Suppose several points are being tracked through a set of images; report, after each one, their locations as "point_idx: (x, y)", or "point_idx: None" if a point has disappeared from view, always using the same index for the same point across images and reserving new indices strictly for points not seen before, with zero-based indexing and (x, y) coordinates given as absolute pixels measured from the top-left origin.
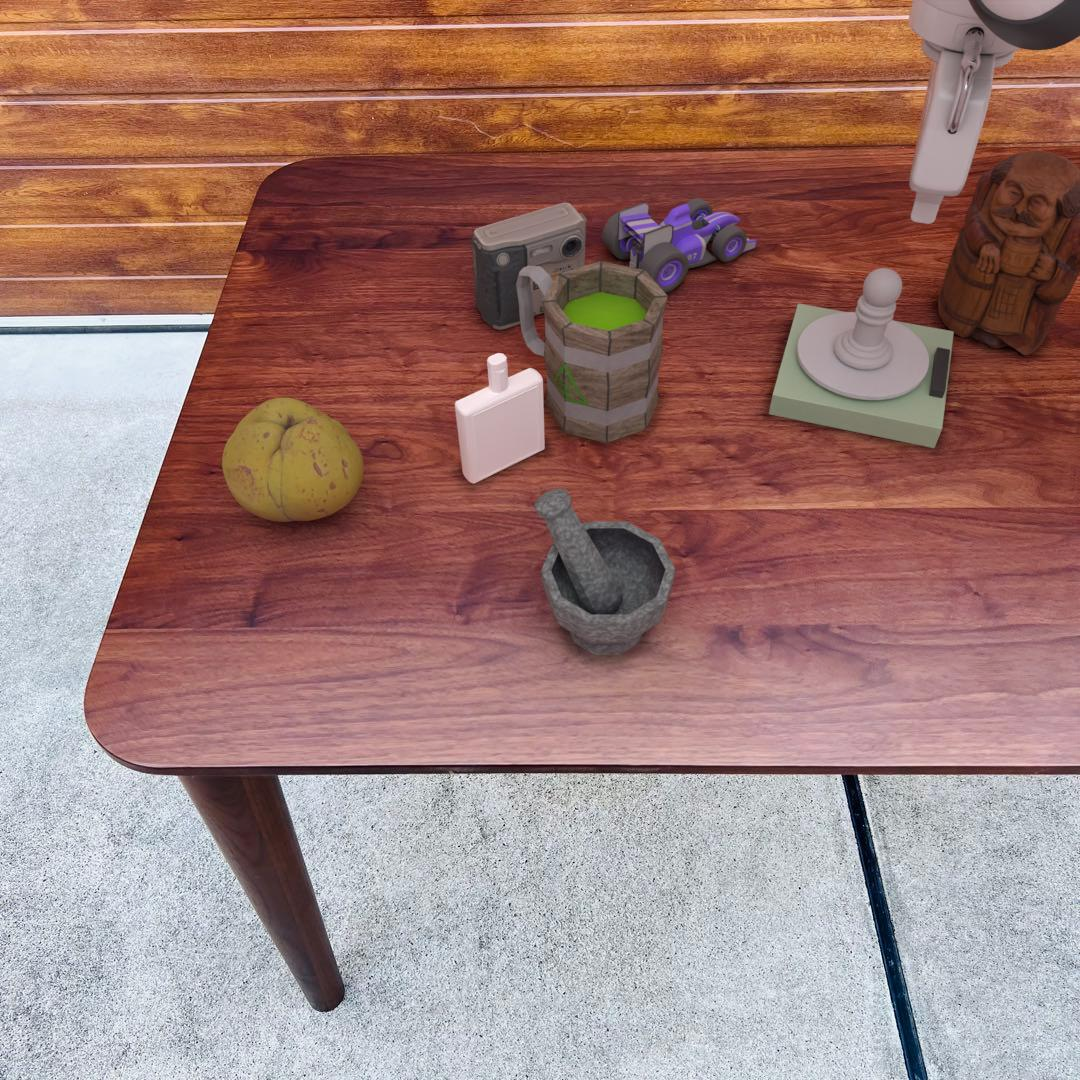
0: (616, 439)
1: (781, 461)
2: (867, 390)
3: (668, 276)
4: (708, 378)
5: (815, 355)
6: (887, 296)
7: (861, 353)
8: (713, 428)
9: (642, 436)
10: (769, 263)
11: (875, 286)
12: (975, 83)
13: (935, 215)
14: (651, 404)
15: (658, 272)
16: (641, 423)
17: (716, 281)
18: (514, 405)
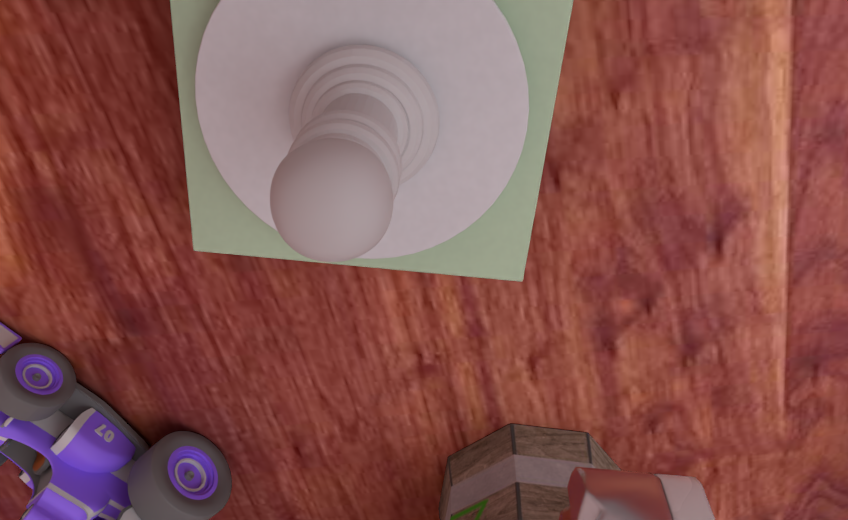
0: (618, 467)
1: (652, 220)
2: (508, 99)
3: (189, 464)
4: (432, 357)
5: (400, 220)
6: (387, 190)
7: (414, 138)
8: (571, 338)
9: (605, 435)
10: (24, 282)
11: (374, 241)
12: None
13: (714, 518)
14: (554, 449)
15: (213, 499)
16: (594, 451)
17: (135, 369)
18: None
